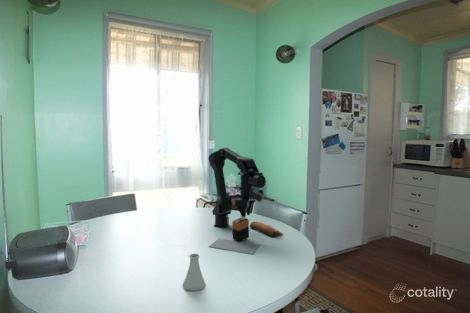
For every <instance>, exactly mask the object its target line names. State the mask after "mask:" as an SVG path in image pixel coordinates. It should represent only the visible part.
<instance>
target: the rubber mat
mask: <svg viewBox="0 0 470 313" xmlns="http://www.w3.org/2000/svg"><path fill="white" fill-rule="evenodd" d="M260 247H261V244H258V243H251V242H246V241H240V242H238V241H236V240H234V239H227V238H221V237H220V238H219V237H218V238H217V239H216V240H215V241H214V242H212V243H211V244H210V245H209V246H208V248H211V249H212V248H213V249H218V250H224V251H229V252H230V251H231V252H236V253H242V254H248V255H251V256H252V255H254V254H255V253H256V251H257V250H258V249H259V248H260Z"/></svg>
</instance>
